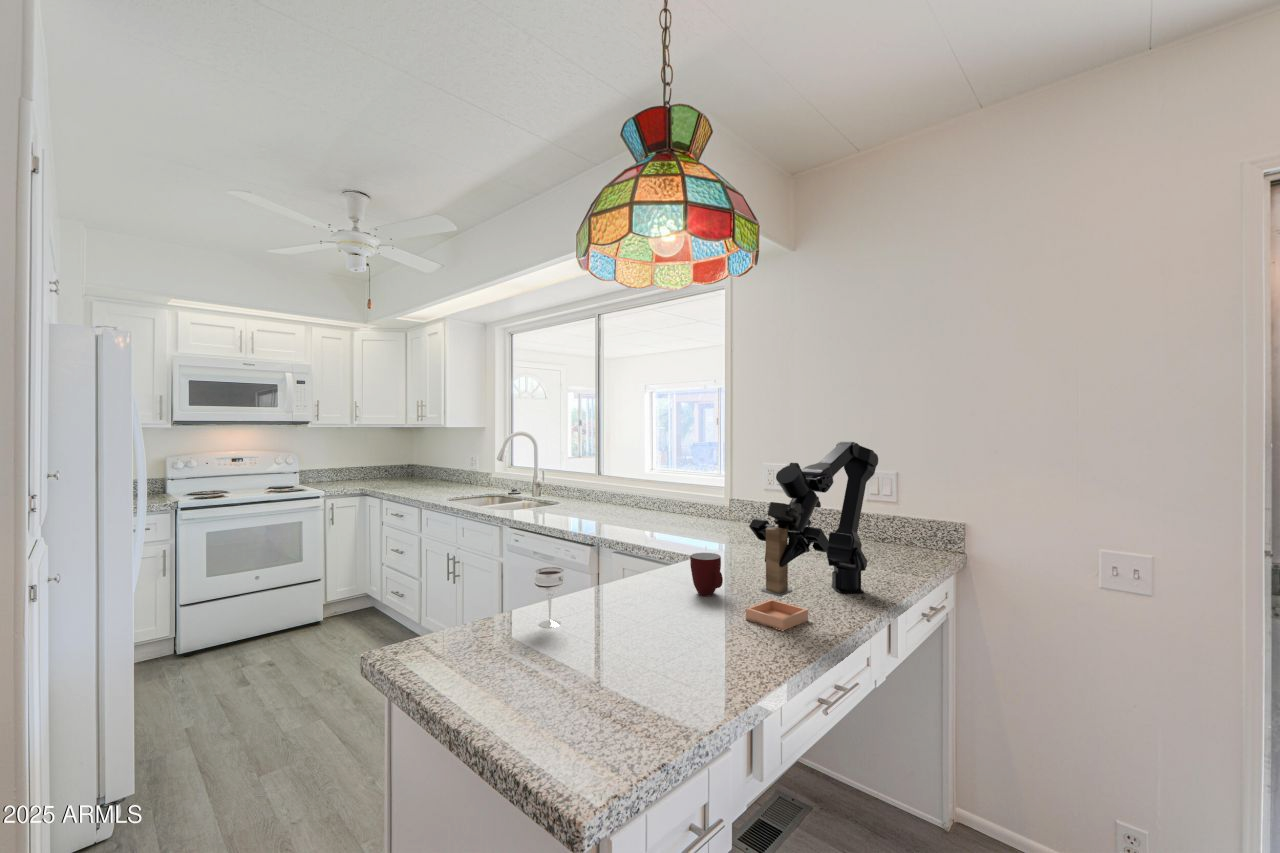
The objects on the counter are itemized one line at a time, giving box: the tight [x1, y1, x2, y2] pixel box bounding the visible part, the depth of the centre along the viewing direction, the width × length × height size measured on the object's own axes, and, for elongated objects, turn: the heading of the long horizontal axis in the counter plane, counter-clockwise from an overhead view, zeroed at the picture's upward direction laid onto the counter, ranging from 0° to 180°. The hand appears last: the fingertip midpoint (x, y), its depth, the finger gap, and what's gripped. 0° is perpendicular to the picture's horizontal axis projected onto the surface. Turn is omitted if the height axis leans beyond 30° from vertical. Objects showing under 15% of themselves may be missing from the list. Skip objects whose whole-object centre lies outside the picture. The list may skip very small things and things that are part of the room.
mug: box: [689, 552, 724, 597], centre depth 144 cm, size 11×8×10 cm
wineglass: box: [534, 566, 565, 629], centre depth 124 cm, size 7×7×12 cm
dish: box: [745, 598, 809, 631], centre depth 125 cm, size 10×10×2 cm
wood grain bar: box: [760, 526, 793, 598], centre depth 125 cm, size 5×5×14 cm
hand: (773, 564), depth 124 cm, fingers closed on wood grain bar, 3 cm apart
